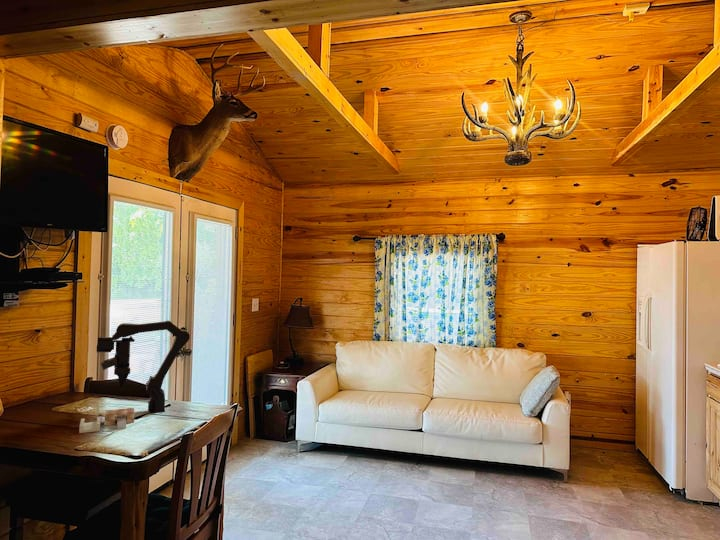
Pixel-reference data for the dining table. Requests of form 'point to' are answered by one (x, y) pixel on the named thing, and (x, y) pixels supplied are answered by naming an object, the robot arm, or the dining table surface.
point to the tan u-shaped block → (111, 414)
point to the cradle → (89, 426)
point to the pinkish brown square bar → (121, 421)
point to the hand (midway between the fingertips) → (121, 386)
